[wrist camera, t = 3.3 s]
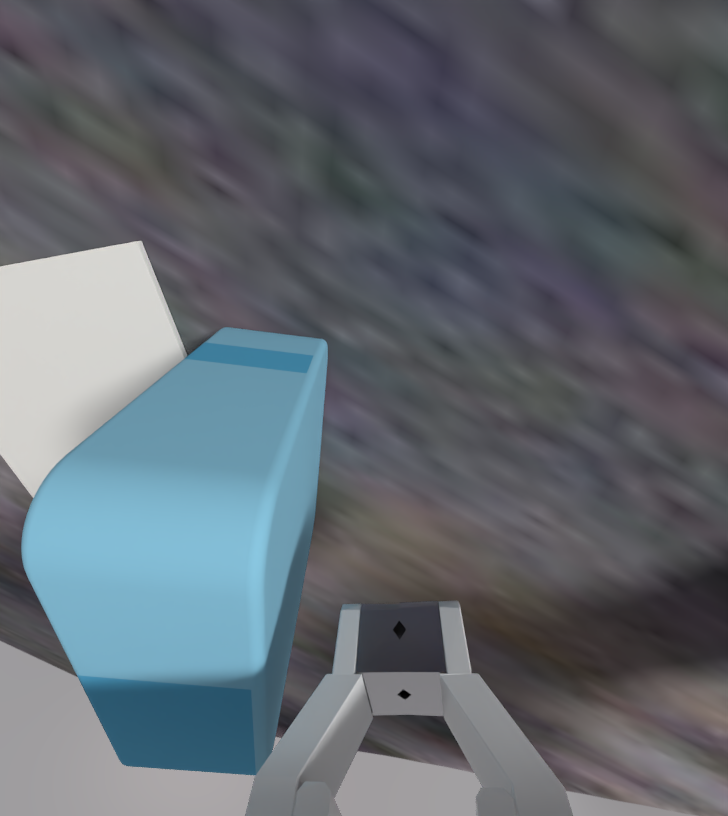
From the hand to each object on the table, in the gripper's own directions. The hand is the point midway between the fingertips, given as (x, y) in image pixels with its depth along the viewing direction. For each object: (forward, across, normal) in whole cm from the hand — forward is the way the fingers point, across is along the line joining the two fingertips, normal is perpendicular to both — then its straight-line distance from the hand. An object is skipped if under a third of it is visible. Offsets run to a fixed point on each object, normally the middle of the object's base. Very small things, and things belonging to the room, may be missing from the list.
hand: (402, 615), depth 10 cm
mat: (+11, +17, +1) cm, 20 cm away
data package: (+10, +6, 0) cm, 12 cm away
